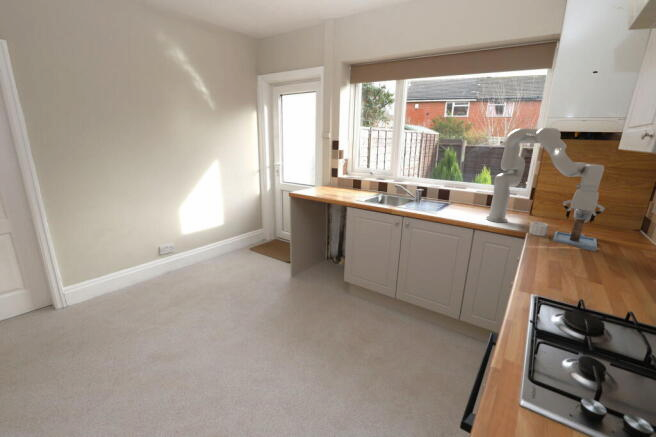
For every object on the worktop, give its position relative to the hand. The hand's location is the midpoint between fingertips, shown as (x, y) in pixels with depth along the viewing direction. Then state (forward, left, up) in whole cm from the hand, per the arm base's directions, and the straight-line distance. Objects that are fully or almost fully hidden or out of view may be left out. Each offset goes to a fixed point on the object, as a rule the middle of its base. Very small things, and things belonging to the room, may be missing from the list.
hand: (578, 220), depth 162 cm
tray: (0, 0, -13) cm, 13 cm away
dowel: (0, 0, -11) cm, 11 cm away
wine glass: (-15, +14, -13) cm, 24 cm away
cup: (-11, -13, -13) cm, 21 cm away
